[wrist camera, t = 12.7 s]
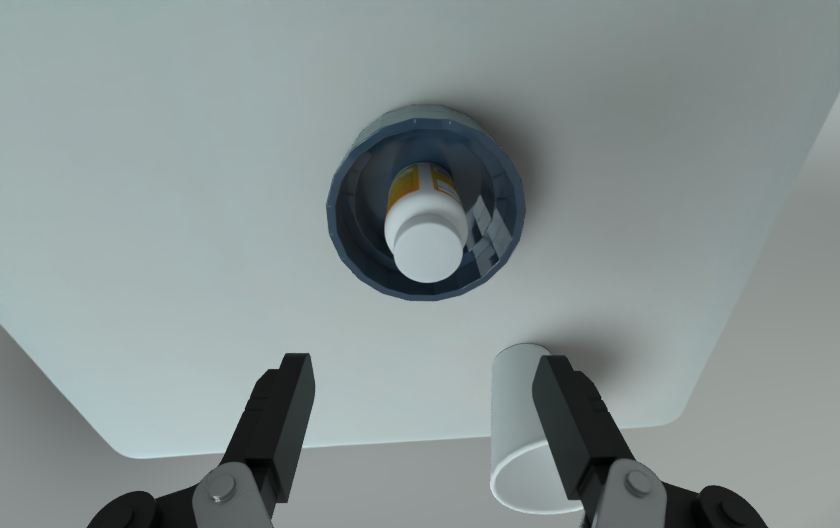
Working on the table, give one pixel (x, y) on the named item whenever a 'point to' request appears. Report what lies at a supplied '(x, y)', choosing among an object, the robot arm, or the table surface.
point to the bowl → (475, 181)
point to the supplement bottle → (425, 223)
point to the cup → (522, 438)
